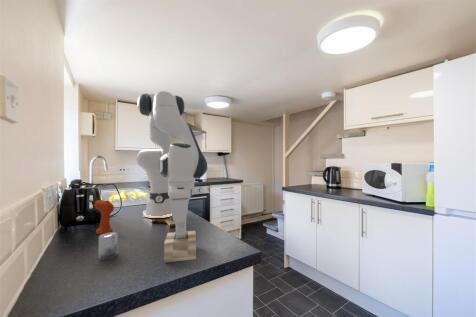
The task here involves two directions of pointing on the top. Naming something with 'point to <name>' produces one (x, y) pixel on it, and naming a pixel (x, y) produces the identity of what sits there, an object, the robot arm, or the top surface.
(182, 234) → the square bit
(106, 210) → the toy drill
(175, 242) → the socket block
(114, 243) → the round bit
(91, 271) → the top surface
